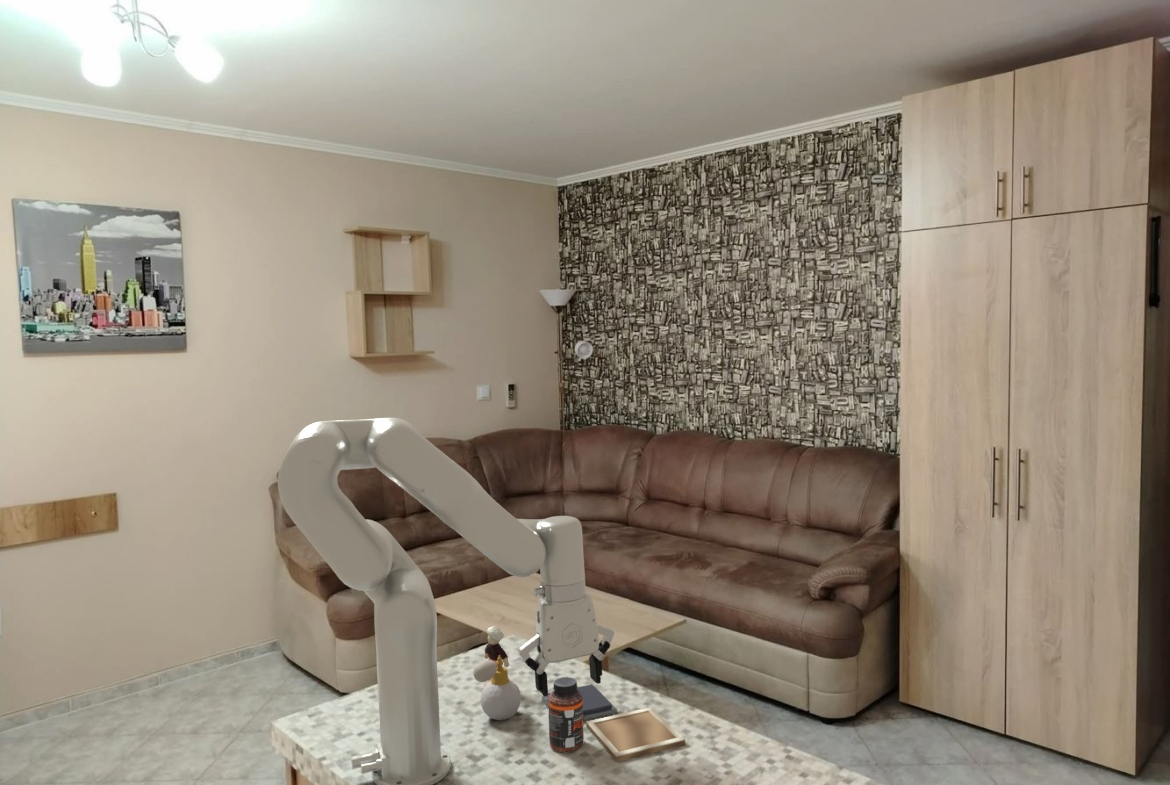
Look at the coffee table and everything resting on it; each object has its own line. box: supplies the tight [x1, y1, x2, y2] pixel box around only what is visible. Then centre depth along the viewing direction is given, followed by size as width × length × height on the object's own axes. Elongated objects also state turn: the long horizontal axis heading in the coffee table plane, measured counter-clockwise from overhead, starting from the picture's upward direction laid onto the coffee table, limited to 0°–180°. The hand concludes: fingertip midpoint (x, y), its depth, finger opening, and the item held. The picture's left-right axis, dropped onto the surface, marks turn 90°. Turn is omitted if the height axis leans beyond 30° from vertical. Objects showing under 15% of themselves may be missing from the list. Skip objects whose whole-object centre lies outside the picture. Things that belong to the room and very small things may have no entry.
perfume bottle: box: [472, 655, 522, 721], centre depth 145 cm, size 8×10×12 cm
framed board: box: [585, 706, 686, 763], centre depth 138 cm, size 13×13×1 cm
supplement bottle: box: [548, 676, 585, 753], centre depth 135 cm, size 6×6×11 cm
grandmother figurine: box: [483, 626, 510, 688], centre depth 158 cm, size 8×4×13 cm, turn 55°
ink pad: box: [541, 683, 618, 723], centre depth 149 cm, size 11×11×2 cm
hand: (569, 686), depth 135 cm, fingers open, 9 cm apart
